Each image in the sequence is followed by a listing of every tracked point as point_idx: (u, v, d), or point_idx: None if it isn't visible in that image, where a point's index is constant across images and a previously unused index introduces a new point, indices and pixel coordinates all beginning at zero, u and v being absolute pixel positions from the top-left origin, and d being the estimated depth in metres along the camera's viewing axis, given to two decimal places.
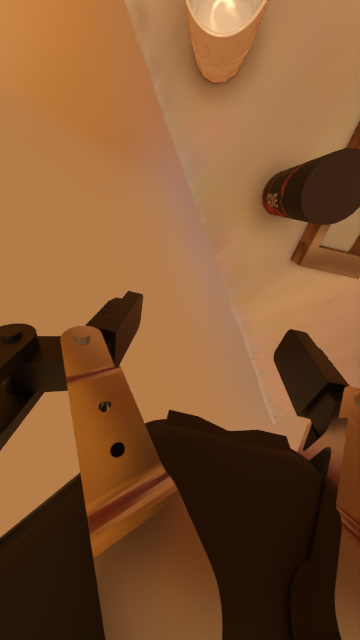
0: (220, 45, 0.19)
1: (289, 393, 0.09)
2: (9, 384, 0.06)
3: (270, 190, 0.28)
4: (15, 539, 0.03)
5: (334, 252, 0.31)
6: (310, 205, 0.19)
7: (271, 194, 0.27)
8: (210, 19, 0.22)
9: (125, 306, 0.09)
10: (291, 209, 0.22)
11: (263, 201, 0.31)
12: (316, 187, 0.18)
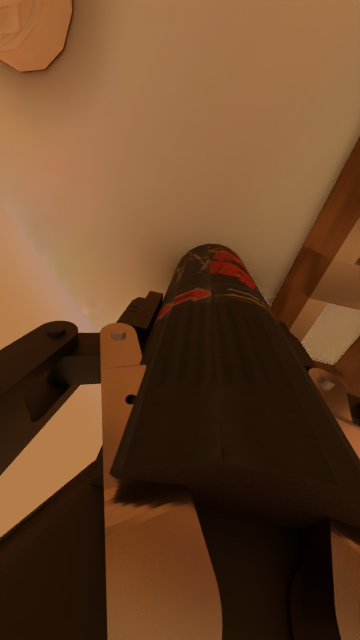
0: None
1: None
2: (50, 376, 0.07)
3: None
4: (15, 539, 0.03)
5: None
6: None
7: None
8: None
9: (150, 305, 0.09)
10: None
11: None
12: None
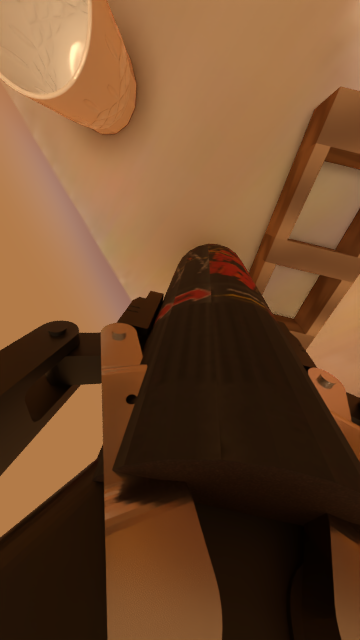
0: (54, 106, 0.13)
1: None
2: (50, 375, 0.07)
3: None
4: (15, 538, 0.03)
5: None
6: None
7: None
8: (76, 62, 0.17)
9: (150, 305, 0.09)
10: None
11: None
12: None
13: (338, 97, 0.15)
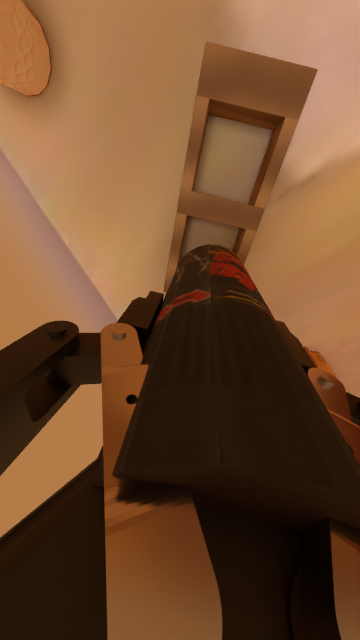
0: None
1: None
2: (50, 375, 0.07)
3: None
4: (15, 538, 0.03)
5: None
6: None
7: None
8: None
9: (151, 305, 0.09)
10: None
11: None
12: None
13: (206, 51, 0.17)
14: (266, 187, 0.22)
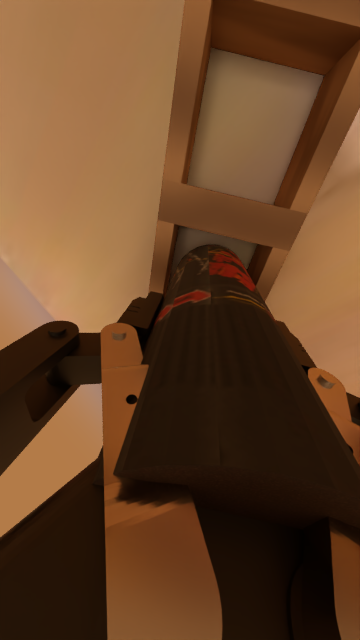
0: None
1: None
2: (50, 375, 0.07)
3: None
4: (15, 539, 0.03)
5: None
6: None
7: None
8: None
9: (151, 305, 0.09)
10: None
11: None
12: None
13: None
14: (314, 176, 0.12)
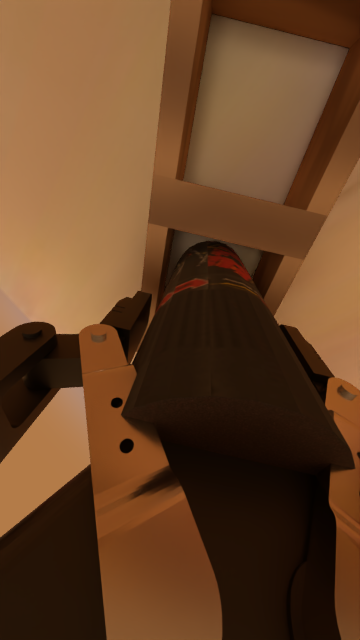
0: None
1: None
2: (28, 379, 0.06)
3: None
4: (15, 538, 0.03)
5: None
6: None
7: None
8: None
9: (136, 305, 0.09)
10: None
11: None
12: None
13: None
14: (338, 170, 0.10)
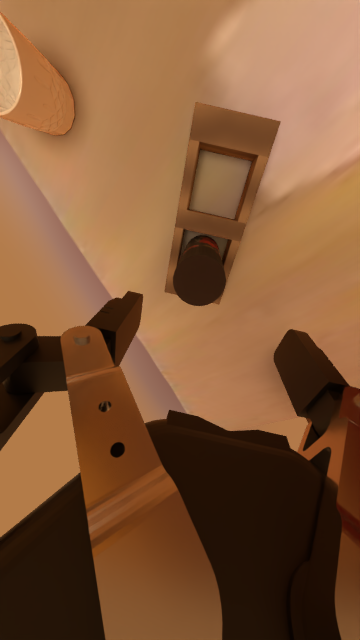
0: (8, 119, 0.21)
1: (289, 393, 0.09)
2: (9, 384, 0.06)
3: None
4: (15, 538, 0.03)
5: None
6: (182, 291, 0.23)
7: None
8: None
9: (125, 306, 0.09)
10: None
11: None
12: (182, 280, 0.22)
13: (196, 109, 0.23)
14: (246, 207, 0.27)
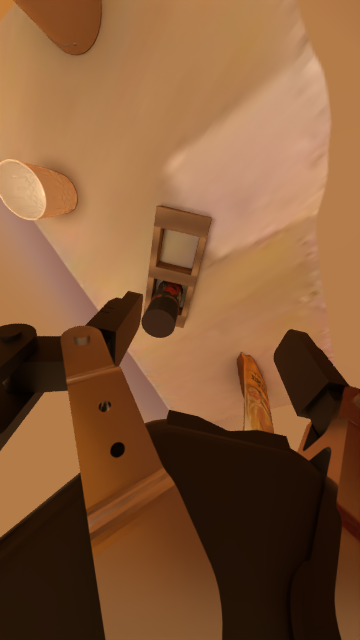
0: None
1: (289, 393, 0.09)
2: (9, 384, 0.06)
3: None
4: (15, 538, 0.03)
5: None
6: (148, 329, 0.35)
7: None
8: None
9: (125, 306, 0.09)
10: None
11: None
12: (147, 322, 0.34)
13: (157, 209, 0.35)
14: (196, 266, 0.39)
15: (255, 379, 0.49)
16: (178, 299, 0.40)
